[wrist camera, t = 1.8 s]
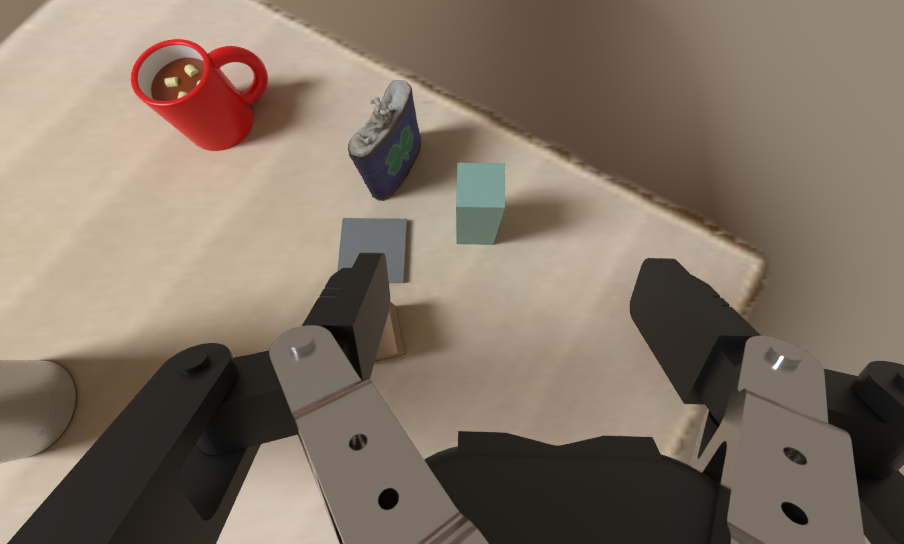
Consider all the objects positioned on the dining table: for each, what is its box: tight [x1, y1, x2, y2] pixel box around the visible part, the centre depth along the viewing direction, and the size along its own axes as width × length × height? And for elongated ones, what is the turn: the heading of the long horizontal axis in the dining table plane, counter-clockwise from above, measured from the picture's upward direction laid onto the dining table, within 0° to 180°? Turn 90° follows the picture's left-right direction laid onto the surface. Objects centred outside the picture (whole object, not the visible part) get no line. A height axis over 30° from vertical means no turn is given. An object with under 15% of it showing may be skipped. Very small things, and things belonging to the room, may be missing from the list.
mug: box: [131, 39, 268, 151], centre depth 40 cm, size 8×12×8 cm, turn 126°
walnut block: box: [375, 302, 405, 361], centre depth 35 cm, size 5×5×5 cm
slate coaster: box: [338, 218, 407, 283], centre depth 40 cm, size 7×7×1 cm
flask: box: [348, 80, 421, 201], centre depth 37 cm, size 9×3×11 cm, turn 151°
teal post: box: [456, 163, 505, 245], centre depth 35 cm, size 4×4×10 cm
